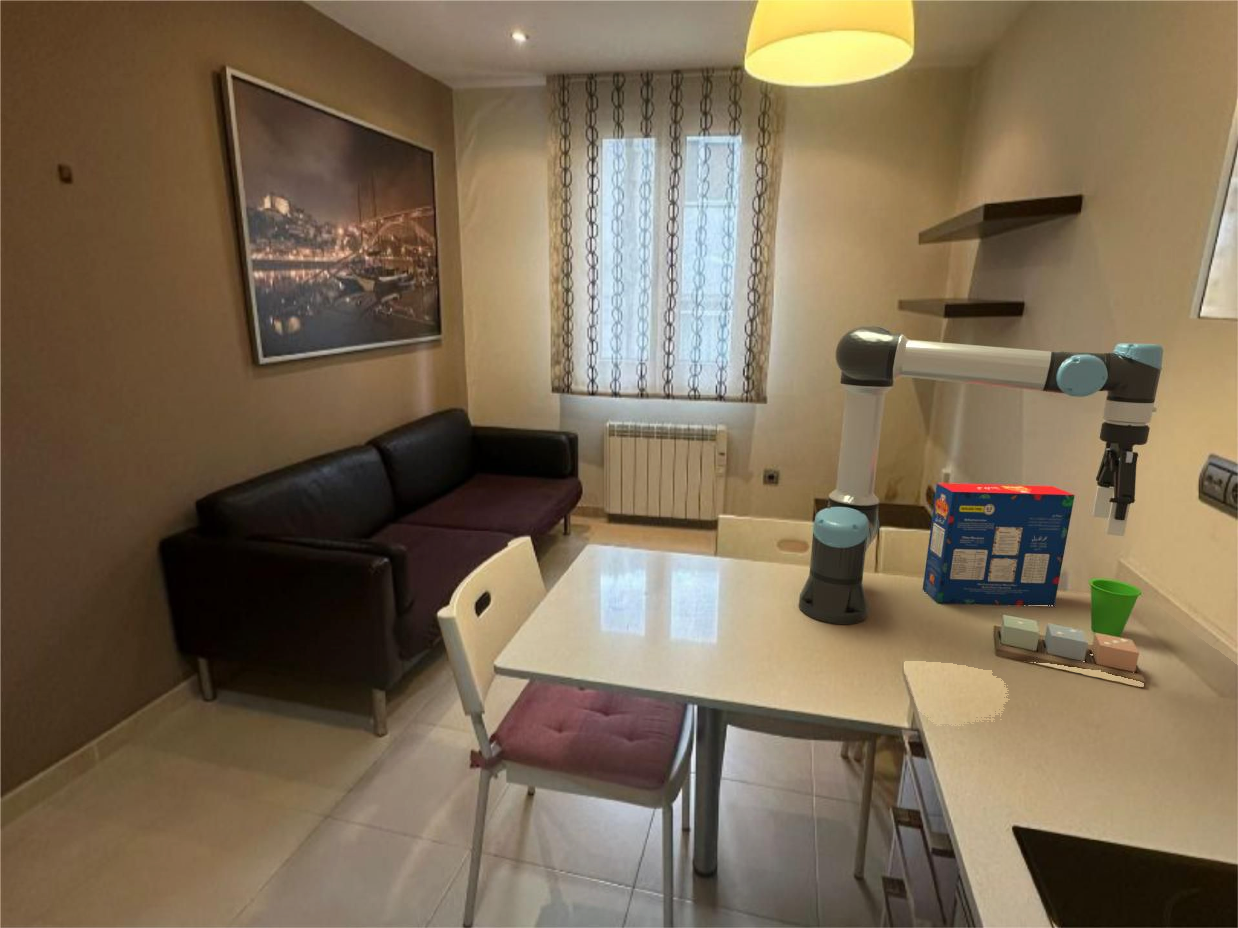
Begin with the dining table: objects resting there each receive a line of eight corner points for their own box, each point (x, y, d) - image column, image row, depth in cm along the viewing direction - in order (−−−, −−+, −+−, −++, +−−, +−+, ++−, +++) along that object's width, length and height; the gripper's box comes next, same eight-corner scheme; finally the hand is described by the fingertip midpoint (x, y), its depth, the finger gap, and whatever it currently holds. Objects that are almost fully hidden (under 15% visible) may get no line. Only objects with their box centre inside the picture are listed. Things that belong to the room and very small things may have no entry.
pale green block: (1001, 643, 132) (1004, 625, 131) (1000, 631, 137) (1003, 613, 136) (1036, 651, 129) (1039, 632, 128) (1033, 638, 134) (1036, 620, 133)
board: (995, 655, 130) (996, 648, 130) (993, 631, 140) (994, 625, 140) (1143, 688, 119) (1145, 681, 119) (1129, 659, 129) (1130, 652, 129)
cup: (1140, 645, 136) (1151, 597, 133) (1092, 640, 137) (1102, 592, 135) (1117, 626, 144) (1127, 580, 142) (1072, 621, 146) (1081, 576, 144)
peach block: (1096, 664, 124) (1100, 644, 124) (1091, 650, 130) (1094, 631, 129) (1134, 672, 122) (1139, 652, 121) (1127, 658, 127) (1131, 639, 126)
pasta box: (1033, 593, 162) (1052, 486, 155) (1054, 606, 154) (1074, 494, 148) (922, 590, 162) (936, 483, 156) (937, 603, 154) (952, 491, 148)
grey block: (1047, 653, 128) (1051, 634, 127) (1044, 641, 133) (1047, 622, 132) (1084, 661, 125) (1087, 641, 124) (1079, 648, 131) (1082, 629, 130)
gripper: (1169, 433, 114) (1146, 546, 118) (1133, 416, 136) (1115, 512, 140) (1117, 429, 117) (1097, 540, 121) (1090, 414, 139) (1074, 508, 143)
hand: (1107, 525), depth 131 cm, fingers open, 13 cm apart
